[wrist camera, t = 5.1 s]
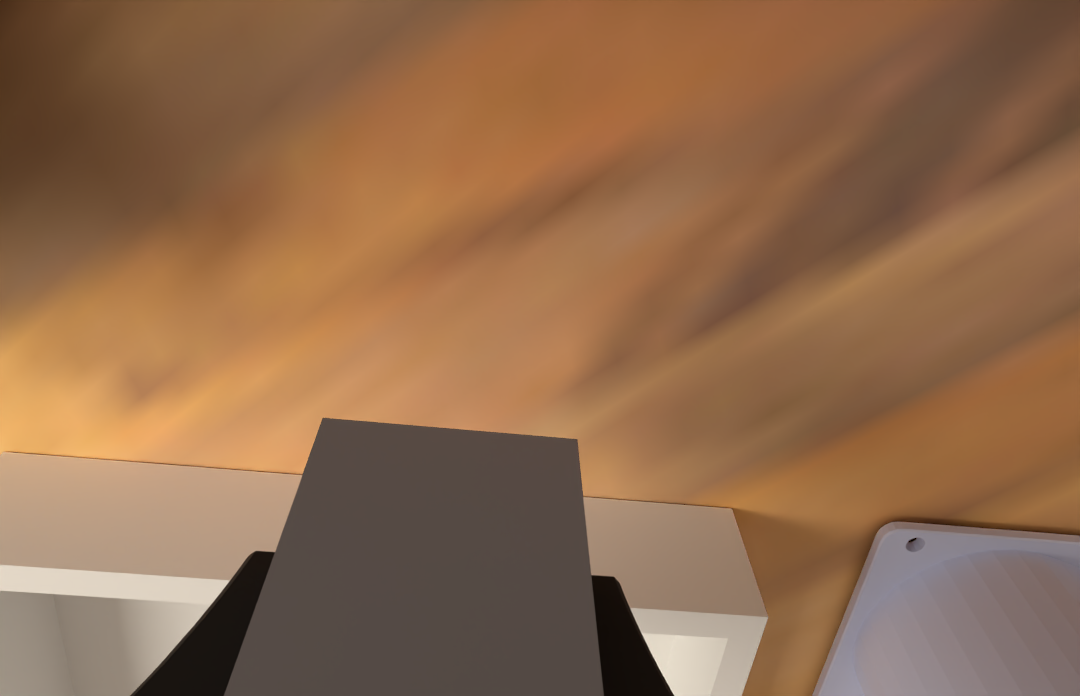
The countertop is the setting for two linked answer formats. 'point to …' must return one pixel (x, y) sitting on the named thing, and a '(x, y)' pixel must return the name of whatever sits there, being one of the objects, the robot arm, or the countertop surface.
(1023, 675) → the robot arm
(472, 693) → the grey rectangular block
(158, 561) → the box
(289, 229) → the countertop surface
